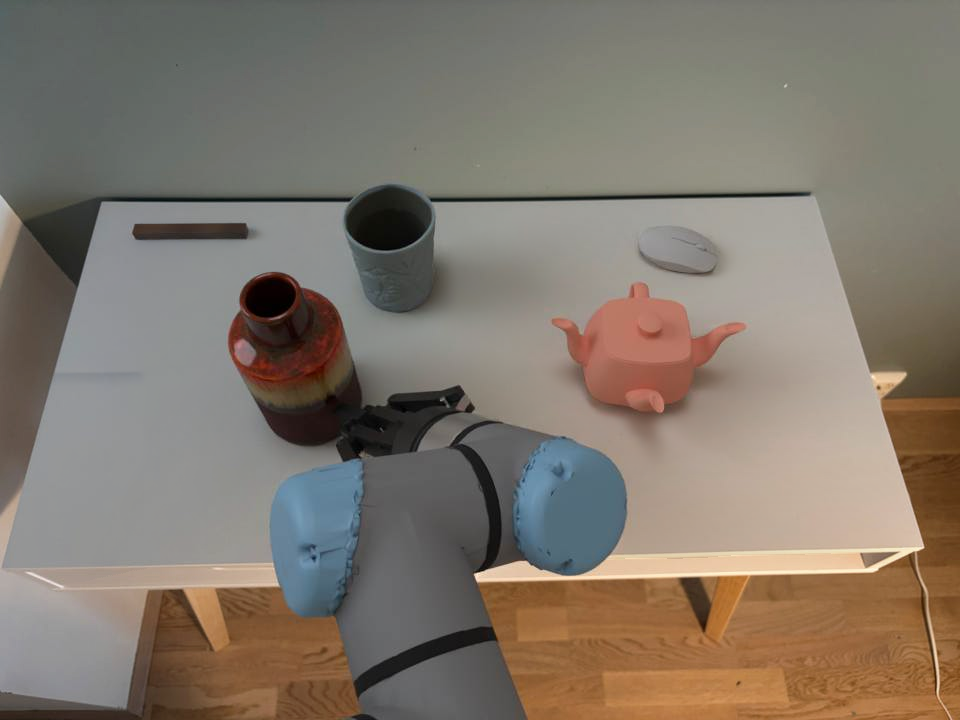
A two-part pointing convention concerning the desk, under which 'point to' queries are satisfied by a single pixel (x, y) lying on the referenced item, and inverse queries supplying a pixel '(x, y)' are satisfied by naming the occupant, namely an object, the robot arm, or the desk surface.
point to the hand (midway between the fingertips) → (344, 417)
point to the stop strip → (190, 231)
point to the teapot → (641, 350)
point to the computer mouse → (678, 249)
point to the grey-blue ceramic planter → (392, 244)
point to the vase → (293, 358)
